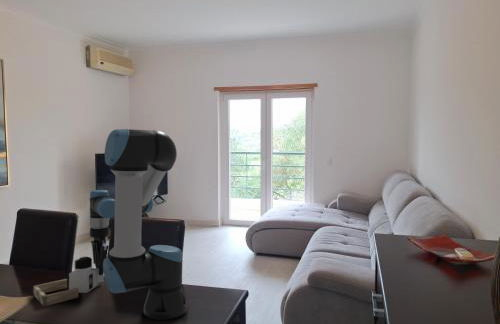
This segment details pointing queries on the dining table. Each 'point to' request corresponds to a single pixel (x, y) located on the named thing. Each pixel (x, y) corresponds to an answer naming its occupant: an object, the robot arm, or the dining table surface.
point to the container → (83, 275)
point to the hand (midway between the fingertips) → (99, 281)
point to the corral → (55, 297)
